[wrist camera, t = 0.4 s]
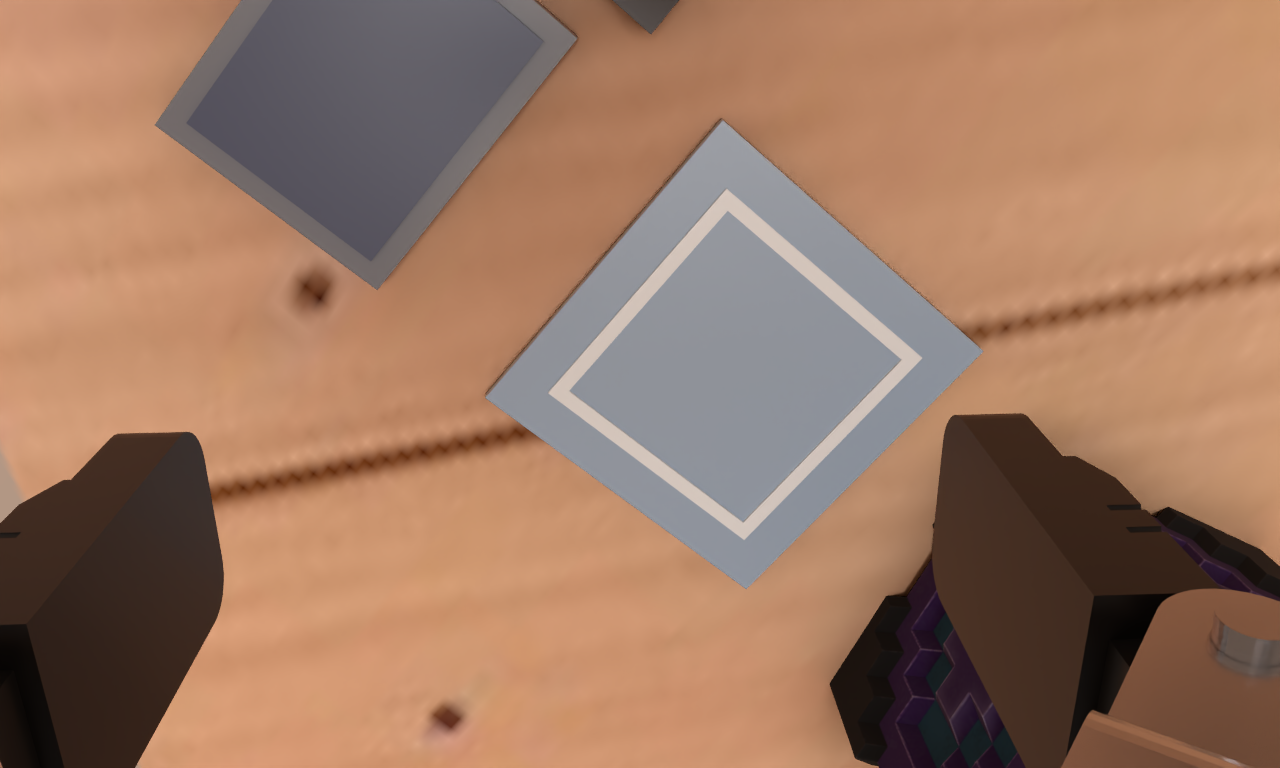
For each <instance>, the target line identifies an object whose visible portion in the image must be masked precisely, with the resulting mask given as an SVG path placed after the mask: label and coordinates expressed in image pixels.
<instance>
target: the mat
mask: <svg viewBox="0 0 1280 768" xmlns="http://www.w3.org/2000/svg"><path fill="white" fill-rule="evenodd" d="M982 352H983V350H982V349H981V348H980V347H978V346H977V345H976V344H975V343H974V342H973V341H972V340H971V339H969V338H968V337H967V336H966V335H965V334H964V333H963V332H962V331H960V330H959V329H958V328H957V327H956V326H955V325H954V324H952V323H951V322H950V321H949V320H948V319H947V318H946V317H945V316H943V315H942V314H941V313H940V312H939V311H938V310H937V309H936V308H934V307H933V306H932V305H931V304H930V303H929V302H928V301H927V300H925V299H924V298H923V297H922V296H921V295H920V294H919V293H918V292H916V291H915V290H914V289H913V288H912V287H911V286H910V285H909V284H907V283H906V282H905V281H904V280H903V279H902V278H901V277H900V276H898V275H897V274H896V273H895V272H894V271H893V270H892V269H890V268H889V267H888V266H887V265H886V264H885V263H884V262H883V261H881V260H880V259H879V258H878V257H877V256H876V255H875V254H874V253H872V252H871V251H870V250H869V249H868V248H867V247H866V246H865V245H863V244H862V243H861V242H860V241H859V240H858V239H857V238H856V237H854V236H853V235H852V234H851V233H850V232H849V231H848V230H847V229H845V228H844V227H843V226H842V225H841V224H840V223H839V222H838V221H836V220H835V219H834V218H833V217H832V216H831V215H830V214H828V213H827V212H826V211H825V210H824V209H823V208H822V207H821V206H819V205H818V204H817V203H816V202H815V201H814V200H813V199H812V198H810V197H809V196H808V195H807V194H806V193H805V192H804V191H803V190H801V189H800V188H799V187H798V186H797V185H796V184H795V183H794V182H792V181H791V180H790V179H789V178H788V177H787V176H786V175H785V174H783V173H782V172H781V171H780V170H779V169H778V168H777V167H776V166H774V165H773V164H772V163H771V162H770V161H769V160H768V159H766V158H765V157H764V156H763V155H762V154H761V153H760V152H759V151H757V150H756V149H755V148H754V147H753V146H752V145H751V144H750V143H748V142H747V141H746V140H745V139H744V138H743V137H742V136H741V135H739V134H738V133H737V132H736V131H735V130H734V129H733V128H732V127H730V126H729V125H728V124H727V123H726V122H725V121H724V120H723V119H720V120H719V122H718V123H717V124H716V125H715V126H714V128H713V129H712V130H711V131H710V132H709V133H708V135H707V136H706V137H705V138H704V139H703V140H702V142H701V143H700V144H699V145H698V146H697V147H696V149H695V150H694V151H693V152H692V153H691V154H690V156H689V157H688V158H687V159H686V160H685V161H684V163H683V164H682V165H681V166H680V167H679V168H678V170H677V171H676V172H675V173H674V174H673V175H672V177H671V178H670V179H669V180H668V181H667V182H666V184H665V185H664V186H663V187H662V188H661V190H660V191H659V192H658V193H657V194H656V195H655V197H654V198H653V199H652V200H651V201H650V202H649V204H648V205H647V206H646V207H645V208H644V209H643V211H642V212H641V213H640V214H639V215H638V216H637V218H636V219H635V220H634V221H633V222H632V223H631V225H630V226H629V227H628V228H627V229H626V230H625V232H624V233H623V234H622V235H621V236H620V237H619V239H618V240H617V241H616V242H615V243H614V244H613V246H612V247H611V248H610V249H609V250H608V252H607V253H606V254H605V255H604V256H603V257H602V259H601V260H600V261H599V262H598V263H597V264H596V266H595V267H594V268H593V269H592V270H591V271H590V273H589V274H588V275H587V276H586V277H585V278H584V280H583V281H582V282H581V283H580V284H579V285H578V287H577V288H576V289H575V290H574V291H573V292H572V294H571V295H570V296H569V297H568V298H567V299H566V301H565V302H564V303H563V304H562V305H561V306H560V308H559V309H558V310H557V311H556V312H555V314H554V315H553V316H552V317H551V318H550V319H549V321H548V322H547V323H546V324H545V325H544V326H543V328H542V329H541V330H540V331H539V332H538V333H537V335H536V336H535V337H534V338H533V339H532V340H531V342H530V343H529V344H528V345H527V346H526V347H525V349H524V350H523V351H522V352H521V353H520V354H519V356H518V357H517V358H516V359H515V360H514V361H513V363H512V364H511V365H510V366H509V367H508V368H507V370H506V371H505V372H504V373H503V374H502V376H501V377H500V378H499V379H498V380H497V381H496V383H495V384H494V385H493V386H492V387H491V388H490V390H489V391H488V392H487V393H486V397H485V398H486V399H487V400H489V401H490V402H492V403H493V404H494V405H496V406H497V407H498V408H500V409H501V410H502V411H504V412H505V413H507V414H508V415H509V416H511V417H512V418H513V419H515V420H516V421H517V422H519V423H520V424H522V425H523V426H524V427H526V428H527V429H528V430H530V431H531V432H532V433H534V434H535V435H537V436H538V437H539V438H541V439H542V440H543V441H545V442H546V443H547V444H549V445H550V446H552V447H553V448H554V449H556V450H557V451H558V452H560V453H561V454H562V455H564V456H565V457H567V458H568V459H569V460H571V461H572V462H573V463H575V464H576V465H577V466H579V467H580V468H582V469H583V470H584V471H586V472H587V473H588V474H590V475H591V476H592V477H594V478H595V479H597V480H598V481H599V482H601V483H602V484H603V485H605V486H606V487H607V488H609V489H610V490H612V491H613V492H614V493H616V494H617V495H618V496H620V497H621V498H623V499H624V500H625V501H627V502H628V503H629V504H631V505H632V506H633V507H635V508H636V509H638V510H639V511H640V512H642V513H643V514H644V515H646V516H647V517H648V518H650V519H651V520H653V521H654V522H655V523H657V524H658V525H659V526H661V527H662V528H663V529H665V530H666V531H668V532H669V533H670V534H672V535H673V536H674V537H676V538H677V539H678V540H680V541H681V542H683V543H684V544H685V545H687V546H688V547H689V548H691V549H692V550H693V551H695V552H696V553H698V554H699V555H700V556H702V557H703V558H704V559H706V560H707V561H708V562H710V563H711V564H713V565H714V566H715V567H717V568H718V569H719V570H721V571H722V572H723V573H725V574H726V575H728V576H729V577H730V578H732V579H733V580H734V581H736V582H737V583H738V584H740V585H741V586H743V587H744V588H745V589H747V588H748V587H749V586H750V585H751V584H752V583H753V582H754V581H755V580H756V579H757V578H758V577H759V576H760V575H761V574H762V573H763V572H764V571H765V570H766V569H767V568H768V567H769V566H770V565H771V564H772V563H773V562H774V561H775V560H776V559H777V558H778V557H779V556H780V555H781V554H782V553H783V552H784V551H785V550H786V549H787V548H788V547H789V546H790V545H791V544H792V543H793V542H794V541H795V540H796V539H797V538H798V537H799V536H800V535H801V534H802V533H803V532H804V531H805V530H806V529H807V528H808V527H809V526H810V525H811V524H812V523H813V522H814V521H815V520H816V519H817V518H818V517H819V516H820V515H821V514H822V513H823V512H824V511H825V510H826V509H827V508H828V507H829V506H830V505H831V504H832V503H833V502H834V501H835V500H836V499H837V498H838V497H839V496H840V495H841V494H842V493H843V492H844V491H845V490H846V489H847V488H848V487H849V486H850V485H851V484H852V483H853V482H854V481H855V480H856V479H857V478H858V477H859V476H860V475H861V474H862V473H863V472H864V471H865V470H866V469H867V468H868V467H869V466H870V465H871V464H872V463H873V462H874V461H875V460H876V459H877V458H878V457H879V456H880V455H881V454H882V453H883V452H884V451H885V450H886V449H887V448H888V447H889V446H890V445H891V444H892V443H893V442H894V441H895V440H896V439H897V438H898V437H899V436H900V435H901V434H902V433H903V432H904V431H905V430H906V429H907V428H908V427H909V425H910V424H911V423H912V422H913V421H914V420H915V419H916V418H917V417H918V416H919V415H920V414H921V413H922V412H923V411H924V410H925V409H926V408H927V407H928V406H929V405H930V404H931V403H932V402H933V401H934V400H935V399H936V398H937V397H938V396H939V395H940V394H941V393H942V392H943V391H944V390H945V389H946V388H947V387H948V386H949V385H950V384H951V383H952V382H953V381H954V380H955V379H956V378H957V377H958V376H959V375H960V374H961V373H962V372H963V371H964V370H965V369H966V368H967V367H968V366H969V365H970V364H971V363H972V362H973V361H974V360H975V359H976V358H977V357H978V356H979V355H980V354H981V353H982Z"/></svg>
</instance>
